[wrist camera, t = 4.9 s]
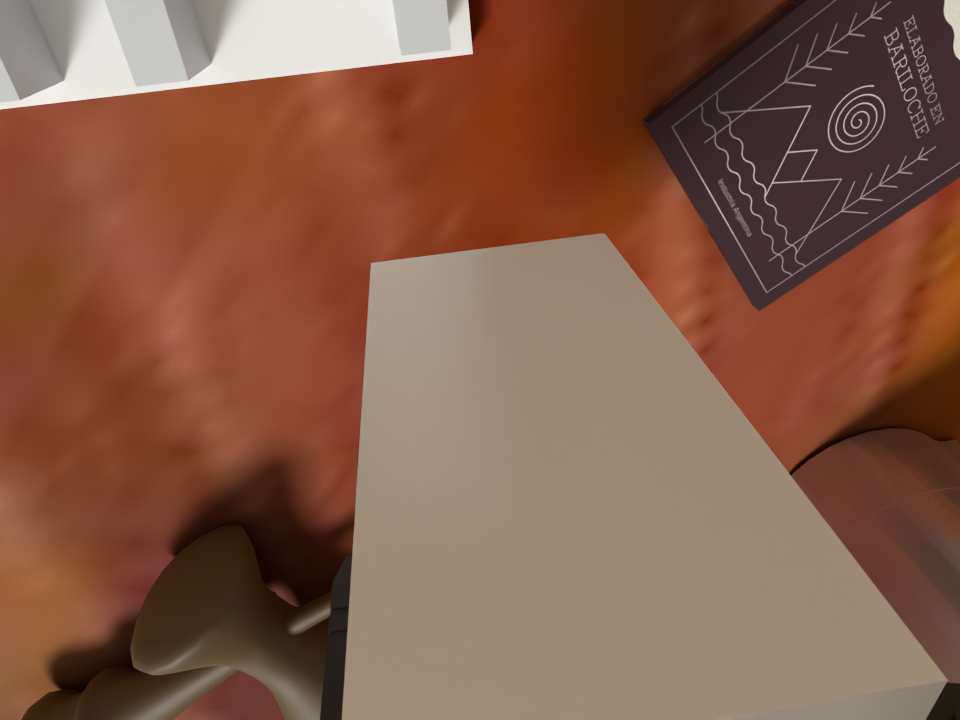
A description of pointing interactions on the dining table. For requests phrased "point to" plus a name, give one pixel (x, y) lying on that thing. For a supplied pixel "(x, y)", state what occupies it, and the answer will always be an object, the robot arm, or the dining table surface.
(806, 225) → the chocolate bar
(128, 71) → the dish rack
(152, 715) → the kendama
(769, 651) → the cream rectangular block
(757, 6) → the dining table surface
